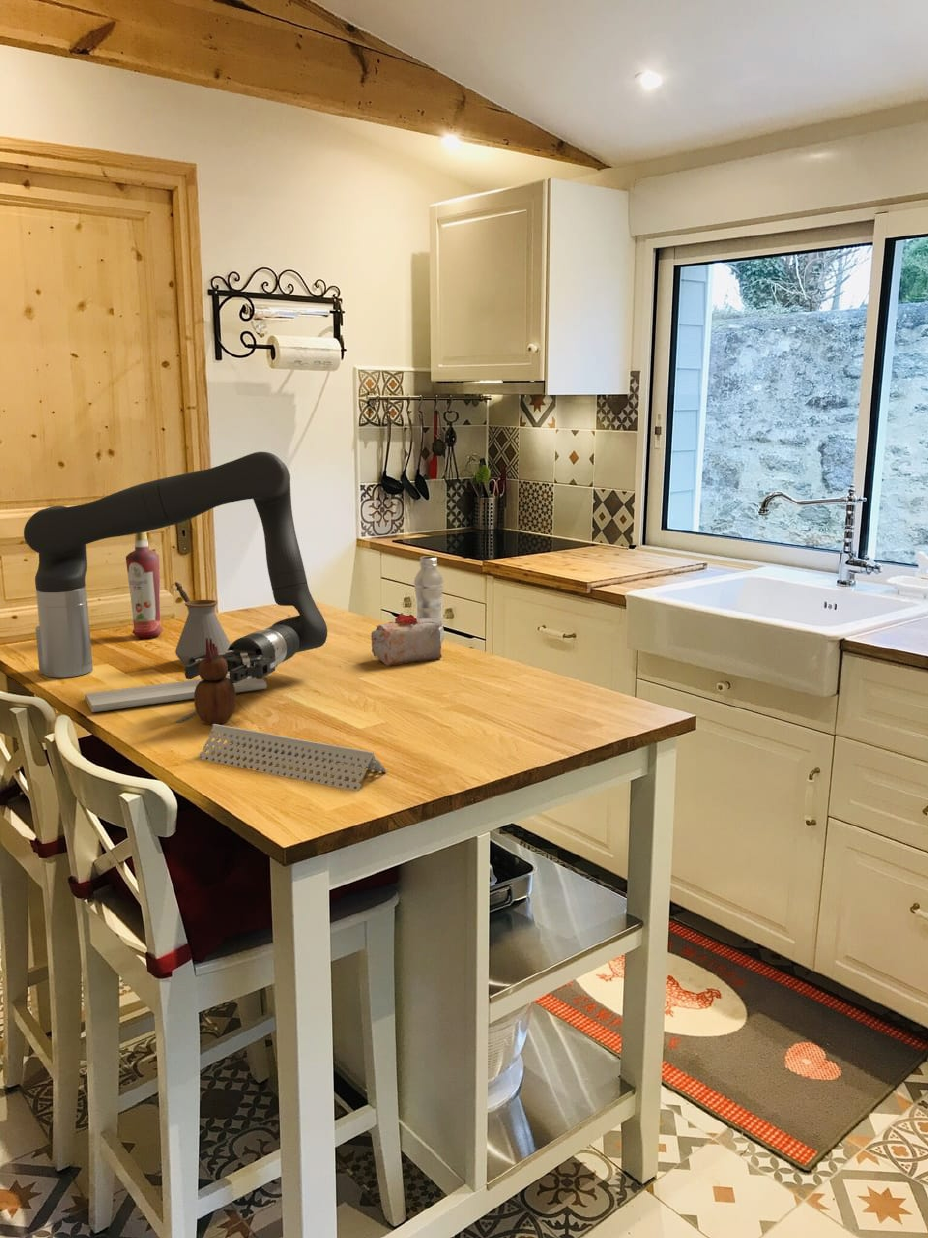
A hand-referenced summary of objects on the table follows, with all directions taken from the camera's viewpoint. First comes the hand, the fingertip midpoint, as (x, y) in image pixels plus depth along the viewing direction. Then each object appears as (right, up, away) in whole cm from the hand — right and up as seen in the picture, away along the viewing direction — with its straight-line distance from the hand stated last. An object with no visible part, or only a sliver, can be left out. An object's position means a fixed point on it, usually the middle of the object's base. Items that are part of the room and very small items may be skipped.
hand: (209, 675), depth 166 cm
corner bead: (+17, -13, -17) cm, 27 cm away
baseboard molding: (-11, -5, +19) cm, 23 cm away
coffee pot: (-15, +1, +46) cm, 48 cm away
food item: (+30, 0, +44) cm, 53 cm away
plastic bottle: (+35, +3, +55) cm, 65 cm away
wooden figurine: (0, -8, +3) cm, 9 cm away
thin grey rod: (-3, -6, +11) cm, 13 cm away
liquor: (-31, +5, +66) cm, 73 cm away
